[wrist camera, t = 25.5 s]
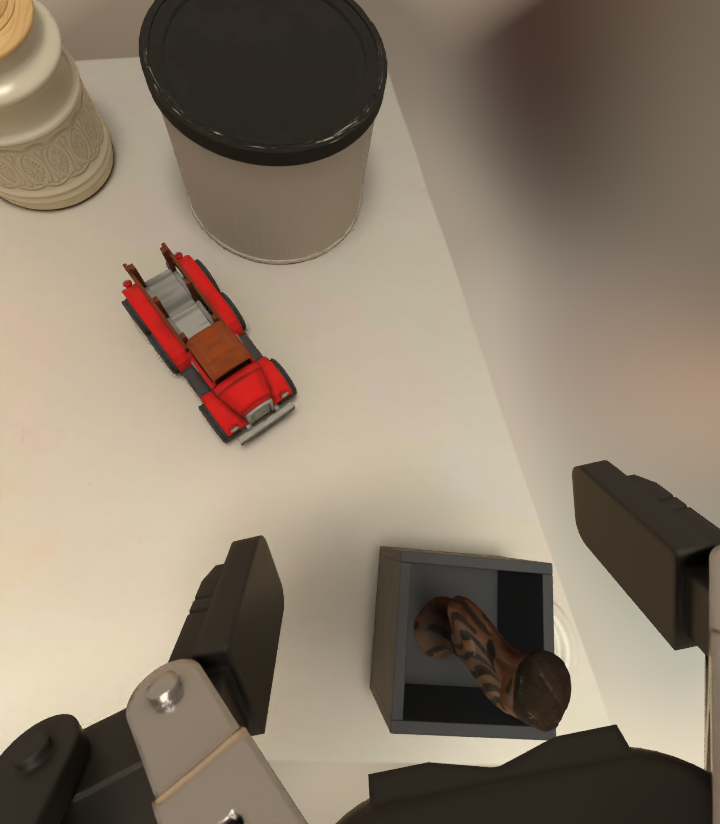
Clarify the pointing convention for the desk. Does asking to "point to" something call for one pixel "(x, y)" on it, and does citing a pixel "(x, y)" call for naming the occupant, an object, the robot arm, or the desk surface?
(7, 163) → the jar
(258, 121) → the container
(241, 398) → the toy truck
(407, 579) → the bin
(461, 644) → the figurine
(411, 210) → the desk surface
